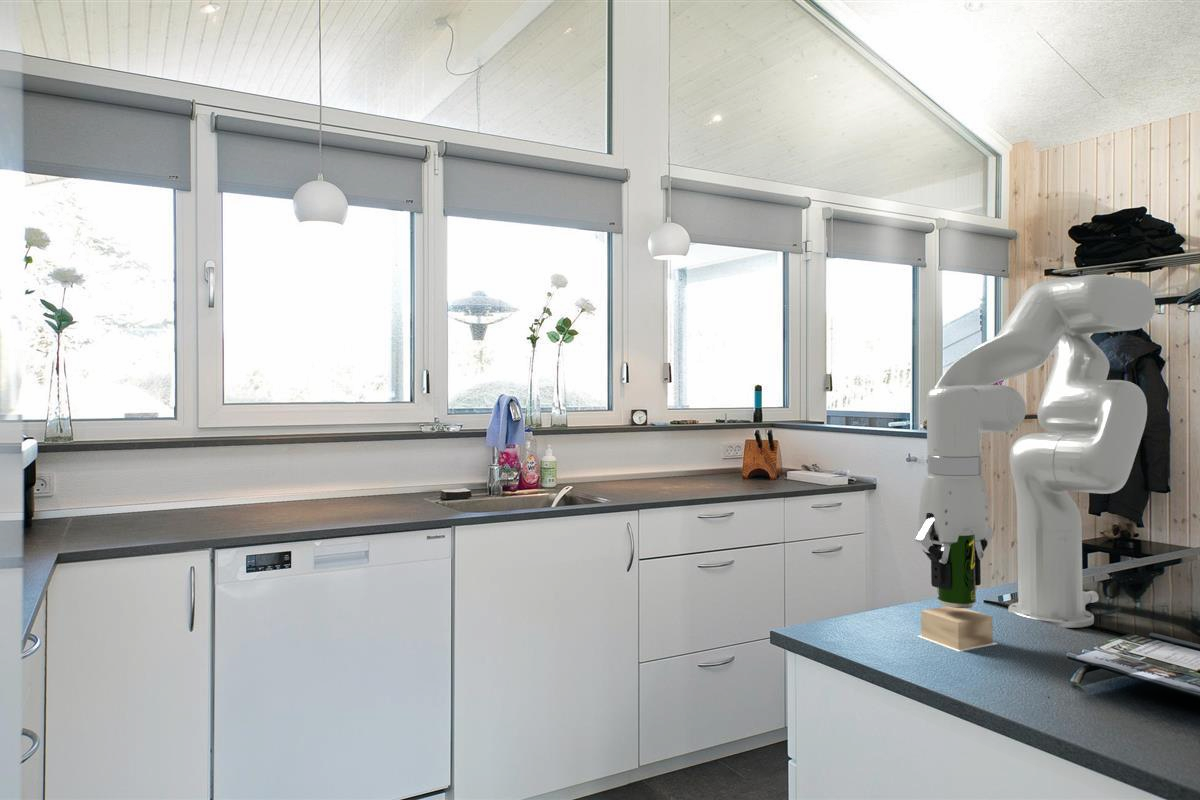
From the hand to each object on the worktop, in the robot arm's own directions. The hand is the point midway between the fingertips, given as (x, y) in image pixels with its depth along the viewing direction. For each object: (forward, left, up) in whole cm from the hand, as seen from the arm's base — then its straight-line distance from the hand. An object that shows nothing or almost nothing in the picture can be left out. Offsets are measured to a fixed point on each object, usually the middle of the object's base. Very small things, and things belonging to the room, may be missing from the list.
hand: (956, 584), depth 117 cm
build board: (0, 0, -9) cm, 9 cm away
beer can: (0, 0, -3) cm, 3 cm away
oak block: (0, 0, -8) cm, 8 cm away
